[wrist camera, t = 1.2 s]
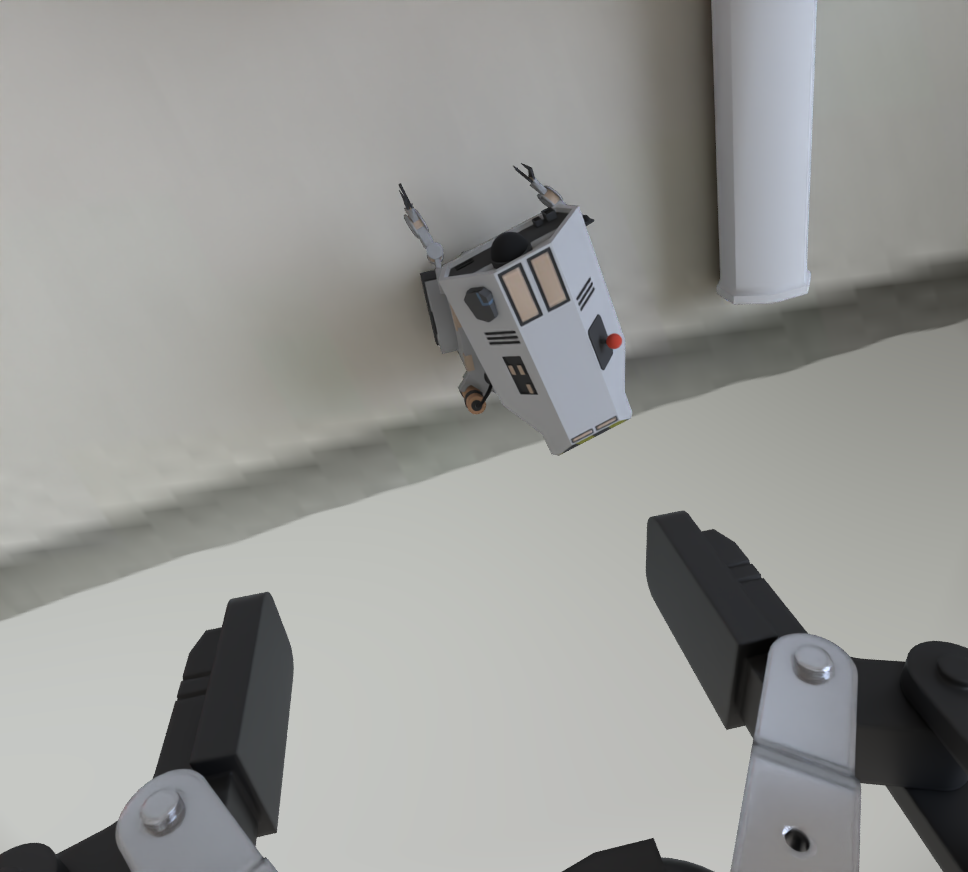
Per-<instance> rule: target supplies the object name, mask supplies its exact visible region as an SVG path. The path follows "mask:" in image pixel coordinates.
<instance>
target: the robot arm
mask: <svg viewBox="0 0 968 872" xmlns="http://www.w3.org/2000/svg"><path fill="white" fill-rule="evenodd" d="M646 577H647V582H648V586H649V589H650V592H651V595H652V597H653V599H654V601H655V603H656V605H657V606H658V608H659V610H660V612H661V614H662V615H663V617H664V619H665V621H666V623H667V624H668V626H669V628H670V630H671V631H672V633H673V635H674V637H675V639H676V641H677V642H678V644H679V646H680V648H681V649H682V651H683V653H684V655H685V657H686V658H687V660H688V662H689V664H690V665H691V667H692V669H693V671H694V673H695V674H696V676H697V678H698V680H699V682H700V683H701V685H702V687H703V689H704V691H705V692H706V694H707V696H708V698H709V700H710V701H711V703H712V705H713V706H714V708H715V710H716V712H717V714H718V716H719V717H720V719H721V721H722V723H723V725H724V726H725V728H726V729H727V730H728V729H732V728H736V727H741V726H745V725H746V727H747V729H748V731H749V732H750V734H751V736H752V737H753V744H752V750H751V756H750V762H749V767H748V773H747V779H746V785H745V790H744V796H743V802H742V807H741V813H740V819H739V825H738V830H737V836H736V842H735V848H734V854H733V859H732V865H731V871H730V872H859V854H860V815H861V785H860V783H866V784H876V785H886V787H887V788H888V790H889V791H890V793H891V794H892V796H893V797H894V799H895V800H896V802H897V803H898V805H899V806H900V808H901V809H902V811H903V812H904V814H905V815H906V817H907V818H908V820H909V821H910V823H911V824H912V826H913V827H914V829H915V830H916V832H917V833H918V835H919V836H920V838H921V839H922V841H923V842H924V844H925V845H926V847H927V848H928V849H929V851H930V852H931V854H932V856H933V857H934V859H935V860H936V862H937V863H938V864H939V866H940V868H941V869H942V871H943V872H968V648H965V647H962V646H960V645H957V644H953V643H948V642H942V641H929V642H924V643H920V644H918V645H916V646H914V647H913V648H912V649H911V650H910V652H909V653H908V657H907V659H906V662H900V661H885V660H870V659H869V660H868V659H860V658H853V657H850V656H849V655H848V654H847V653H846V652H845V651H844V650H843V649H841V648H840V647H839V646H837V645H836V644H834V643H833V642H831V641H829V640H827V639H825V638H822V637H819V636H816V635H811V634H808V633H807V632H806V631H805V630H804V628H803V627H802V626H801V624H800V623H799V622H798V621H797V619H796V618H795V617H794V616H793V614H792V613H791V612H790V611H789V609H788V608H787V607H786V606H785V605H784V603H783V602H782V601H781V600H780V598H779V597H778V596H777V594H776V593H775V592H774V591H773V589H772V588H771V587H770V586H769V584H768V583H767V582H766V581H765V579H764V578H763V579H762V578H761V574H760V573H759V572H758V571H757V569H756V568H755V567H754V566H753V564H750V562H749V559H748V558H747V557H746V556H745V554H744V553H743V552H742V551H741V549H740V548H739V547H738V546H737V545H736V543H735V542H733V541H732V540H730V539H729V538H727V537H725V536H724V535H722V534H720V533H719V532H717V531H716V530H714V529H712V530H707V531H702V532H701V530H700V529H699V528H698V526H697V525H696V524H695V522H694V521H693V520H692V518H691V517H690V516H689V514H688V513H687V512H685V511H678V512H674V513H668V514H663V515H658V516H653V517H650V518H649V519H648V523H647V550H646ZM293 669H294V668H293V655H292V650H291V645H290V642H289V639H288V637H287V634H286V631H285V629H284V626H283V624H282V621H281V618H280V616H279V613H278V610H277V608H276V605H275V603H274V600H273V598H272V596H271V594H270V593H269V592H265V593H259V594H254V595H249V596H244V597H239V598H234V599H231V600H230V601H229V602H228V605H227V608H226V612H225V617H224V621H223V625H222V627H221V628H216V629H211V630H206V631H205V633H204V634H203V635H202V637H201V638H200V639H199V641H198V642H197V644H196V645H195V646H194V648H193V649H192V650H191V652H190V653H189V656H188V660H187V663H186V667H185V670H184V673H183V681H181V684H180V688H179V691H178V695H177V698H178V699H177V701H176V702H175V705H174V708H173V712H172V715H171V719H170V722H169V726H168V729H167V733H166V736H165V740H164V743H163V747H162V750H161V753H160V757H159V761H158V764H157V767H156V771H155V774H154V777H153V779H152V780H151V781H149V782H148V783H146V784H145V785H144V786H143V787H141V788H140V789H139V790H138V791H137V792H136V793H135V794H134V795H133V796H132V798H131V799H130V800H129V801H128V803H127V804H126V806H125V807H124V809H123V811H122V813H121V815H120V817H119V819H118V821H116V822H115V823H114V824H112V825H111V826H109V827H107V828H106V829H104V830H102V831H100V832H98V833H96V834H94V835H92V836H90V837H89V838H87V839H85V840H83V841H81V842H79V843H78V844H75V845H73V846H71V847H69V848H68V849H66V850H64V851H62V852H60V853H58V854H55V853H54V852H53V850H52V849H51V848H50V847H48V846H46V845H44V844H40V843H28V844H23V845H20V846H17V847H14V848H12V849H10V850H8V851H6V852H4V853H2V854H0V872H278V871H277V870H276V869H275V867H274V866H273V865H272V864H271V862H270V861H269V860H268V859H267V858H266V857H265V858H263V857H262V855H261V854H260V853H259V851H258V850H257V849H256V847H255V846H256V838H257V837H260V836H264V835H268V834H273V833H277V825H278V815H279V806H280V796H281V787H282V777H283V768H284V758H285V749H286V739H287V730H288V720H289V711H290V710H289V709H290V701H291V692H292V682H293ZM562 872H713V871H711V870H709V869H707V868H705V867H703V866H699V865H696V864H694V863H690V862H687V861H682V860H678V859H672V858H661V856H660V854H659V851H658V849H657V846H656V843H655V841H654V839H653V838H652V839H648V840H644V841H639V842H636V843H632V844H627V845H624V846H619V847H615V848H611V849H607V850H603V851H599V852H595V853H593V854H591V855H590V856H588V857H586V858H584V859H583V860H581V861H580V862H578V863H576V864H574V865H573V866H571V867H569V868H567V869H566V870H564V871H562Z"/></svg>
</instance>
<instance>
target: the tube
mask: <svg viewBox="0 0 968 872" xmlns="http://www.w3.org/2000/svg"><path fill="white" fill-rule="evenodd" d="M711 7H712V37H713V68H714V98H715V129H716V159H717V190H718V220H719V251H720V281H719V283H718V285H717V294H718V295H720V296H721V297H723V298H725V299H726V300H728V301H730V302H731V303H733V304H734V305H736V304H772V303H776V302H780V301H783V300H787V299H790V298H794V297H797V296H801V295H805V294H807V293H808V289H809V284H810V280H811V272H810V271H808V270H807V248H808V222H809V196H810V170H811V144H812V118H813V92H814V66H815V40H816V14H817V0H711Z"/></svg>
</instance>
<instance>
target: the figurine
mask: <svg viewBox="0 0 968 872" xmlns="http://www.w3.org/2000/svg"><path fill="white" fill-rule="evenodd" d="M521 164H522V163H521ZM522 165H523V166H524V167H525V168H527V169H528V172H529V177H528V176H526V175H525V174H524V173H523V172H521V171H520V170H519V169H518V168H516V167H515V166H513V167H514V168H515V170H516V171H517V172H518V173H520V174H521V175H522V176H523V177H525V178H526V179H527V180H528V181H529V182H530V183H531V184H530V186H531V187H532V188H534V189H535V190H536V191H537V192H539V193H540V194H538V195H537V196H538V199H539V200H540V201H541V202H542V203H543V204H544V205H546V206H547V207H548V208H547V209H545V210H543V211H541V213H540V214H538V215H536V216H534V217H532V218H530V219H528V220H527V221H525V222H523V223H521V224H519V225H517V226H515V227H513V228H511V229H509V230H508V231H506V232H504V233H502V234H500V235H498V236H496V237H494V238H493V239H491V240H489V241H487V242H485V243H483V244H482V245H480V246H478V247H476V248H474V249H472V250H470V251H465V252H462V254H461V255H460V257H458V258H456V259H454V260H452V261H450V262H449V263H447V264H445V265H443V267H442V265H441V262H442V260H443V258H444V254H443V252H444V250H443V247H442V245H441V244H440V243H438V242H434V241H433V239H432V236H431V235H430V234H429V229H428V227H427V225H426V223H425V221H424V220H423V218H422V217H421V215H420V214H419V212H418V211H417V210H416V209H414V207H413V204H411V203H410V201H409V199H408V197H407V195H406V193H405V191H404V189H403V187H402V185H401V183H400V184H398V185H399V187H400V189H401V191H402V193H403V194H404V195H403V194H402V193H401V192H400V194H401V196H402V198H403V201H404V204H405V206H406V208H404V209H405V211H406V213H407V214H408V216H407V215H404V219H405V221H406V223H407V225H408V226H409V228H410V229H411V231H412V232H413V234H414V235H415V236H416V237H417V238H418V239H420V241H421V243H422V245H423V247H424V248H425V249H426V250H427V258H428V260H429V262H430V263H432V264H435V266H436V268H435V270H433V271H428V272H424V273H420V276H421V280H422V284H423V289H424V293H425V298H426V302H427V306H428V311H429V315H430V320H431V324H432V329H433V333H434V337H435V342H436V344H437V345H439V346H440V349H441V352H442V354H443V353H447V352H452V351H456V350H457V351H458V353H459V355H460V357H461V359H462V362H463V364H464V366H465V368H466V370H467V371H466V373H465V374H464V376H463V378H464V379H463V381H462V382H461V384H460V385H459V387H458V389H459V391H460V393H461V395H462V396H463V397H464V401H465V405H466V407H467V408H468V410H469V411H470V412H471V413H473V414H480V413H482V412H483V411H484V410H485V407H486V403H485V401H486V399H487V397H488V396H489V395H490V393H491V392H492V391H493V392H495V393H496V394H497V395H498V397H499V399H500V401H501V403H502V405H503V406H505V407H506V408H507V409H509V410H510V411H511V412H513V413H514V414H515V415H517V416H518V417H519V418H521V419H522V420H523V421H525V422H526V423H527V424H529V425H530V426H532V427H533V428H534V429H536V430H537V431H538V432H540V433H541V434H542V435H543V437H544V439H545V441H546V443H547V446H548V448H549V450H550V451H551V454H553V455H558V456H559V455H561V454H563V453H565V452H566V451H569V450H570V449H572V448H574V447H576V446H578V445H580V444H582V443H584V442H586V441H588V440H590V439H592V438H594V437H596V436H597V435H599V434H601V433H603V432H605V431H607V430H609V429H611V428H613V427H615V426H617V425H619V424H621V423H623V422H624V421H626V420H628V419H630V418H631V415H632V410H631V407H630V405H629V402H628V399H627V397H626V394H625V338H624V335H623V332H622V330H621V327H620V324H619V321H618V318H617V315H616V312H615V309H614V306H613V304H612V301H611V298H610V295H609V292H608V289H607V286H606V283H605V280H604V277H603V275H602V272H601V269H600V266H599V263H598V260H597V257H596V254H595V251H594V248H593V246H592V243H591V240H590V237H589V234H588V231H587V228H586V226H587V225H589V224H591V223H592V222H594V220H593V219H590V218H589V217H588V216H587V215H583V214H582V213H581V211H580V208H579V206H575V205H567V204H566V203H565V202H563V198H562V197H561V195H560V194H559V193H558V192H557V191H555V190H554V189H553V188H551V187H549V186H543V185H542V184H541V183H540V182H539V181H538V180H537V179H536V178H535V177H534V173H533V170H532V168H531V167H529V166H527V165H525V164H522ZM399 191H400V190H399ZM404 196H405V197H404ZM407 202H408V203H407Z"/></svg>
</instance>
